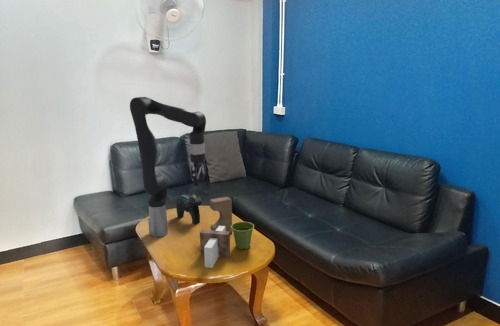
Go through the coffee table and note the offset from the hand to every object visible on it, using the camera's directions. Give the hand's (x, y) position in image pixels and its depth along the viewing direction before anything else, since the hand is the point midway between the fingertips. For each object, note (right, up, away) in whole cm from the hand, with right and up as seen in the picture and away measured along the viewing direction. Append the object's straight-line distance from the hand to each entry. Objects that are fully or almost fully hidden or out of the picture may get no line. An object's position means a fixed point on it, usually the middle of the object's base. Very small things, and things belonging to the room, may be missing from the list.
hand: (198, 183), depth 176 cm
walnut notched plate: (+9, -35, -7) cm, 37 cm away
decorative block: (+10, -29, +17) cm, 35 cm away
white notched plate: (+9, -35, -7) cm, 37 cm away
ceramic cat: (-12, -25, +35) cm, 44 cm away
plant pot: (+22, -33, +1) cm, 40 cm away
